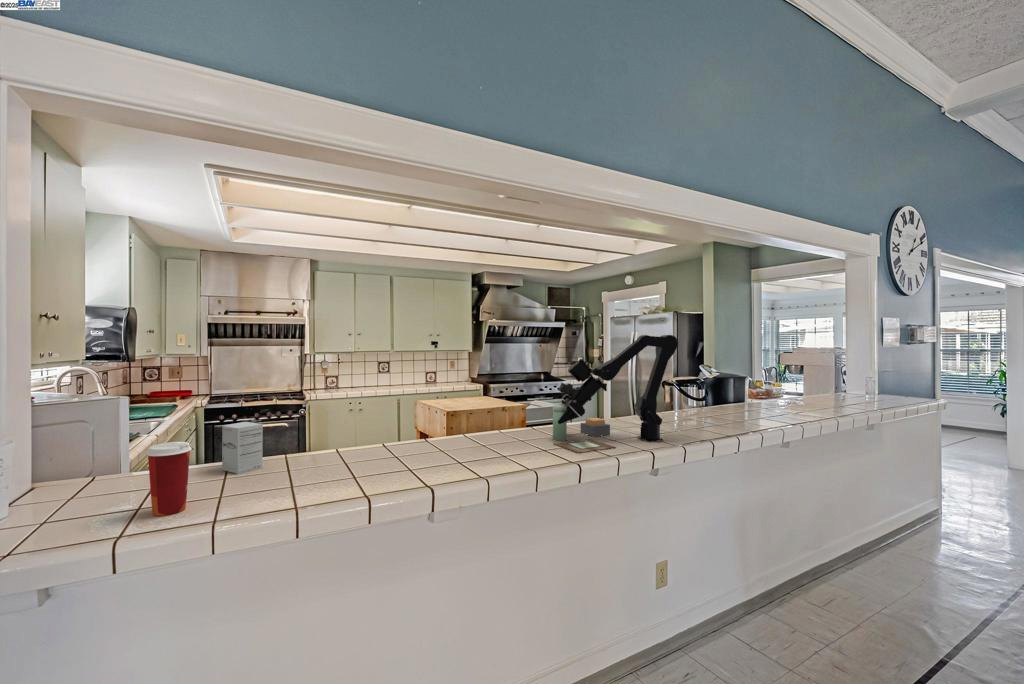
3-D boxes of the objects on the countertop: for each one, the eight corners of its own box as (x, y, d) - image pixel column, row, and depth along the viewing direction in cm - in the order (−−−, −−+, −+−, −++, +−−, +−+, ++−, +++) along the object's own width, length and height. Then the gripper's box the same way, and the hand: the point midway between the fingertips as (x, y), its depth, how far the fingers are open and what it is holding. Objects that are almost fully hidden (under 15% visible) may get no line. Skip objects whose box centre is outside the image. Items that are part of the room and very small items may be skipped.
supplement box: (221, 470, 124) (221, 425, 123) (247, 464, 130) (247, 420, 130) (237, 474, 120) (237, 427, 120) (263, 467, 127) (263, 423, 127)
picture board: (590, 439, 164) (590, 438, 164) (615, 448, 152) (615, 446, 152) (553, 444, 156) (553, 443, 156) (577, 453, 144) (577, 452, 144)
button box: (596, 431, 179) (596, 421, 179) (609, 435, 172) (610, 424, 172) (580, 433, 176) (580, 422, 176) (593, 437, 169) (593, 426, 169)
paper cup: (200, 504, 98) (200, 441, 98) (171, 518, 91) (171, 450, 91) (166, 503, 99) (166, 440, 99) (135, 517, 91) (135, 449, 91)
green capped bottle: (561, 437, 167) (561, 403, 167) (569, 440, 163) (569, 404, 163) (549, 439, 165) (550, 403, 165) (557, 442, 160) (557, 405, 160)
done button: (596, 423, 178) (596, 417, 177) (604, 425, 173) (604, 419, 173) (585, 424, 175) (585, 418, 175) (594, 427, 170) (594, 420, 170)
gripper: (567, 373, 173) (538, 401, 173) (576, 377, 154) (543, 409, 154) (587, 393, 173) (559, 422, 173) (598, 400, 155) (566, 432, 154)
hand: (556, 420), depth 164 cm, fingers open, 9 cm apart
